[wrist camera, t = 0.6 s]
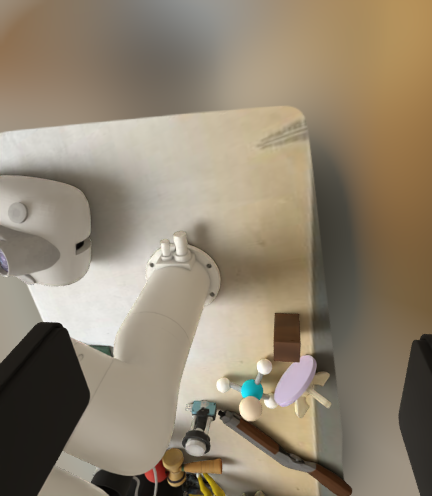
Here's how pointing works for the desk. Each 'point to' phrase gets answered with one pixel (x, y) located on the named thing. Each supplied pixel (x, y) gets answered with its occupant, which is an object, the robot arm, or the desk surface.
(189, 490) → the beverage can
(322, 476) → the gun
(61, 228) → the projector
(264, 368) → the molecule model
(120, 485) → the glass holder
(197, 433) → the push button
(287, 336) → the brown rectangular block
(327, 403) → the toy table
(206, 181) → the desk surface
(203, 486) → the figurine
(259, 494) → the fossil
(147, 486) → the black cooking pot
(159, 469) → the kendama
